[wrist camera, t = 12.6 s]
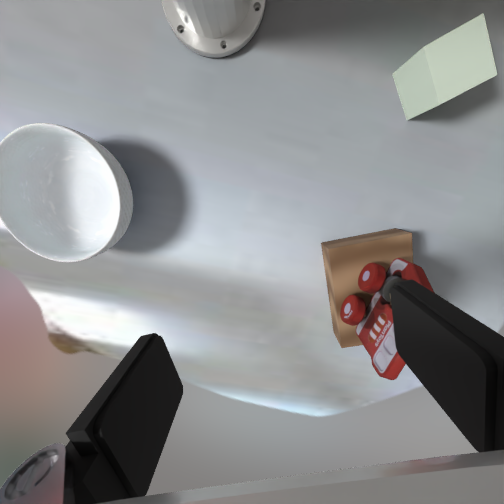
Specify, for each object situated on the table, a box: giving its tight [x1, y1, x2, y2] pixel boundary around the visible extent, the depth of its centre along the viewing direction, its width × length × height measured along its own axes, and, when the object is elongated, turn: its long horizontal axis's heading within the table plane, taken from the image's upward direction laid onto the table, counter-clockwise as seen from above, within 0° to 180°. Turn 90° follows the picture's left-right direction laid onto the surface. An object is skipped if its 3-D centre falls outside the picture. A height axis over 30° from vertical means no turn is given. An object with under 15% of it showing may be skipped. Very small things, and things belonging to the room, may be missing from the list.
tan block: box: [321, 228, 413, 348], centre depth 35 cm, size 16×11×4 cm
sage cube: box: [392, 13, 497, 120], centre depth 27 cm, size 6×6×6 cm
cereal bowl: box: [0, 123, 133, 262], centre depth 32 cm, size 17×17×7 cm
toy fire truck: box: [340, 258, 434, 380], centre depth 28 cm, size 7×12×10 cm, turn 158°
